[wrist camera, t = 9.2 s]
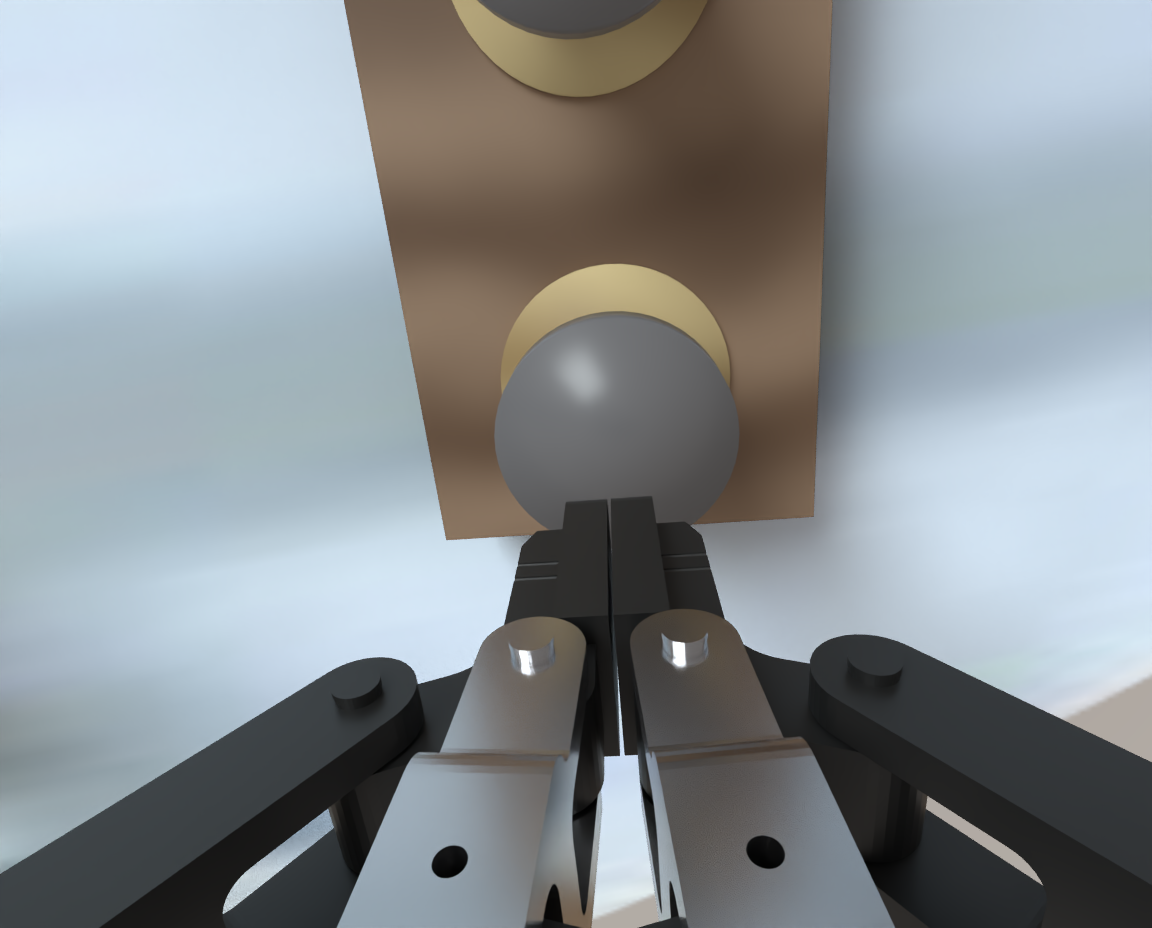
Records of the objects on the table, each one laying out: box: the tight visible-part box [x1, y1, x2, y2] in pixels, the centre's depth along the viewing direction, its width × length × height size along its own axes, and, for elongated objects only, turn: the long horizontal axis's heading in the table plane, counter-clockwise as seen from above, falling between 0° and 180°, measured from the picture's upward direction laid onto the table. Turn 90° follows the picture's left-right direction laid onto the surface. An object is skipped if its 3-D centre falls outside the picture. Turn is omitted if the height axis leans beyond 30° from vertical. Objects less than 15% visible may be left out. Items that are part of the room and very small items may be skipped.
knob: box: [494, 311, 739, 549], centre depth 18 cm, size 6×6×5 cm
